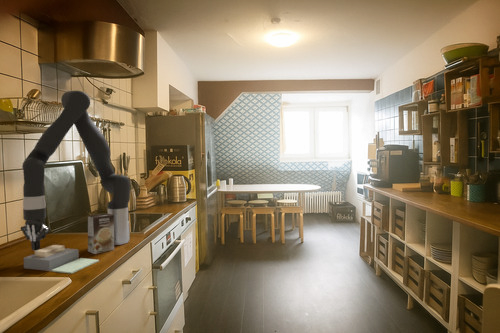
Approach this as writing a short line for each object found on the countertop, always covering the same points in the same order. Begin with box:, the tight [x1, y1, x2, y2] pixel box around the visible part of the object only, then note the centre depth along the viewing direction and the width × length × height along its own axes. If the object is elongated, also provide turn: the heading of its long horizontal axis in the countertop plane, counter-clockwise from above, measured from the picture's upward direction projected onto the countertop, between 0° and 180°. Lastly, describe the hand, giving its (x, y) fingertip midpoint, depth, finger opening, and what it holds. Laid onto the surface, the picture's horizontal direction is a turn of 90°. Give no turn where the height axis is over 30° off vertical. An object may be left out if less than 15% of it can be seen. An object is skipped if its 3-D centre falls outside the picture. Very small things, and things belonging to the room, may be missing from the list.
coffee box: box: [87, 213, 115, 255], centre depth 142 cm, size 9×6×16 cm
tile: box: [34, 244, 66, 257], centre depth 126 cm, size 9×5×2 cm, turn 165°
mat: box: [51, 257, 100, 274], centre depth 123 cm, size 14×9×1 cm, turn 165°
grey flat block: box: [23, 247, 80, 272], centre depth 125 cm, size 14×12×4 cm
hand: (35, 249), depth 128 cm, fingers closed
